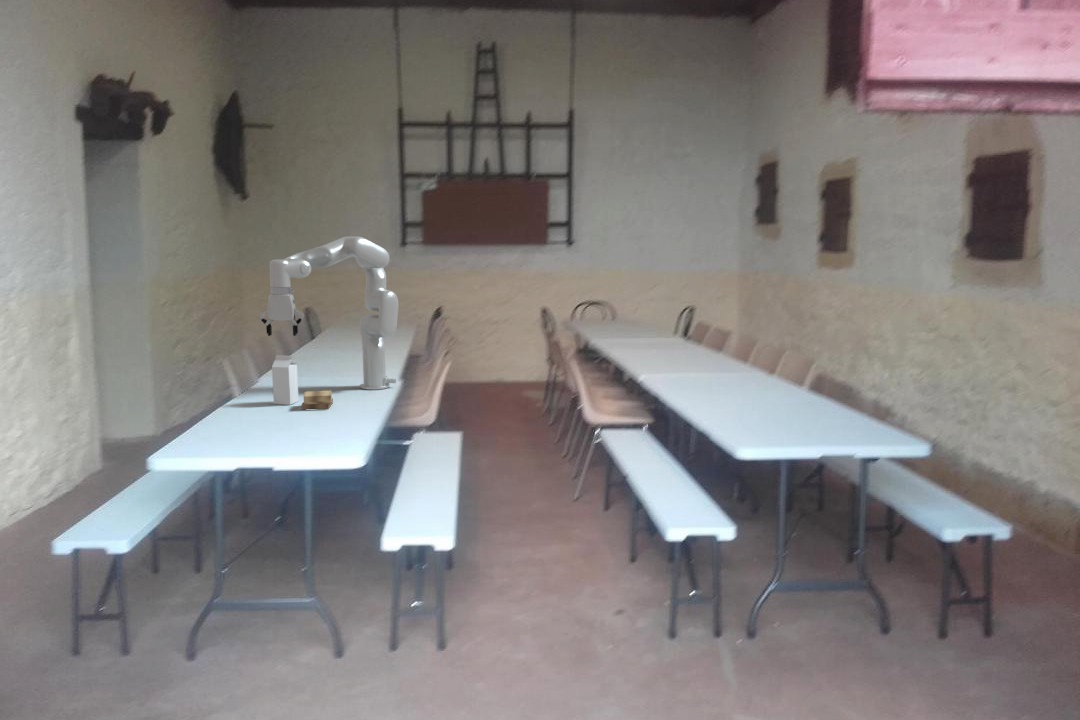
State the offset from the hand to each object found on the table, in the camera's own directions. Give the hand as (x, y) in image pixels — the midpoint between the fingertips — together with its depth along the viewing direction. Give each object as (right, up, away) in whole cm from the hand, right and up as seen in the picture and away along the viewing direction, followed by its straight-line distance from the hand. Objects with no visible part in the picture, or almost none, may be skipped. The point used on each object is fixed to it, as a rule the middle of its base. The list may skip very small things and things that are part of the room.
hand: (282, 335), depth 346 cm
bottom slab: (+15, -29, -4) cm, 32 cm away
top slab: (+15, -26, -4) cm, 30 cm away
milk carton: (0, -27, +4) cm, 27 cm away
